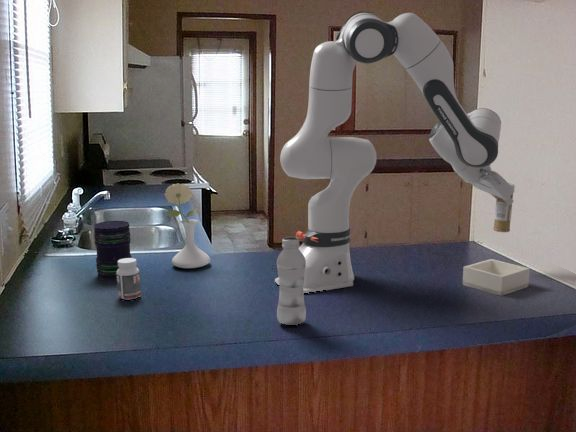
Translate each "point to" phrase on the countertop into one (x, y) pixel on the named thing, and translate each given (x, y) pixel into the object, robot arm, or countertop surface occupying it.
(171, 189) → the flower in vase
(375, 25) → the robot arm
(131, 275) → the pill bottle
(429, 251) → the countertop surface
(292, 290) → the plastic bottle
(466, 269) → the box
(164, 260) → the countertop surface
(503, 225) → the sprinkles bottle
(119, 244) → the storage jar
